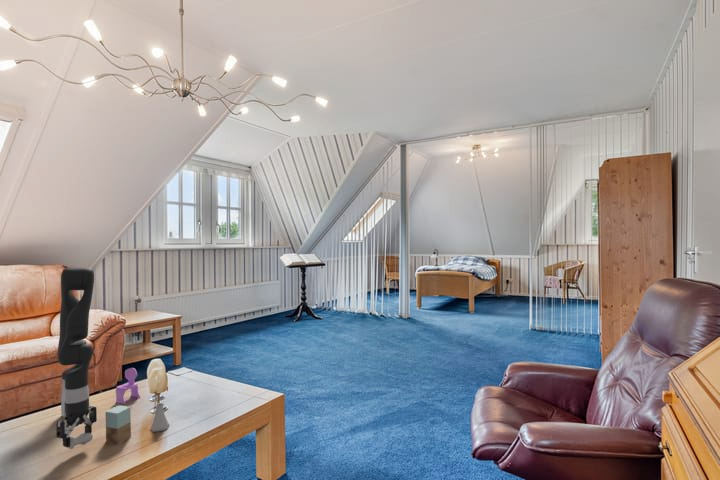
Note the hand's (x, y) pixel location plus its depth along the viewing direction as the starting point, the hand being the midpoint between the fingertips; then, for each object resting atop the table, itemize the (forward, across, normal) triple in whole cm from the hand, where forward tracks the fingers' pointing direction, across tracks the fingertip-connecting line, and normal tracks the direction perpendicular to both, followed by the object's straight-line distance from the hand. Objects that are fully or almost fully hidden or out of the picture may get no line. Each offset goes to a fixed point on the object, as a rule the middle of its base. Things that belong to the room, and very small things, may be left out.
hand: (77, 441), depth 151 cm
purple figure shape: (+5, -43, -22) cm, 48 cm away
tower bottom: (+4, -12, +6) cm, 14 cm away
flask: (+4, -24, +16) cm, 29 cm away
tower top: (-2, -12, +6) cm, 14 cm away
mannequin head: (+2, 0, +1) cm, 2 cm away
